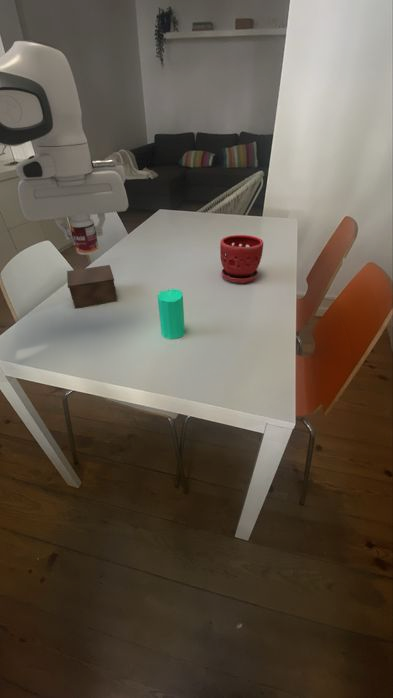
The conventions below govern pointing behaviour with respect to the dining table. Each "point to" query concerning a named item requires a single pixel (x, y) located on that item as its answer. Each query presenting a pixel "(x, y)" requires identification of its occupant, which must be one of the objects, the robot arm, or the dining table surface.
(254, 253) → the flower pot
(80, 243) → the pill bottle
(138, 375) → the dining table surface
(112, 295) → the walnut box
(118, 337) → the dining table surface
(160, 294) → the candle
